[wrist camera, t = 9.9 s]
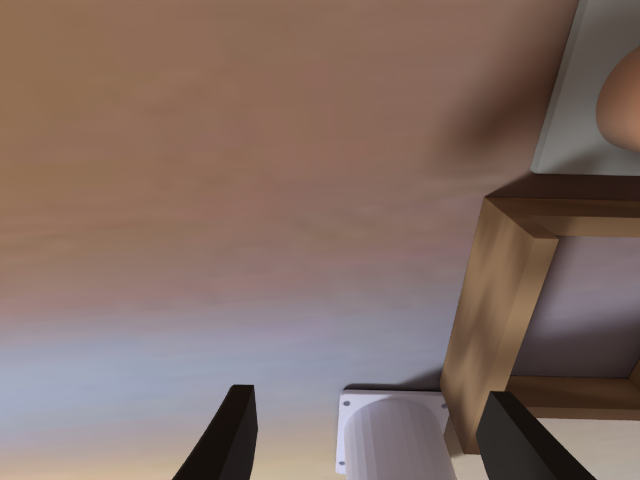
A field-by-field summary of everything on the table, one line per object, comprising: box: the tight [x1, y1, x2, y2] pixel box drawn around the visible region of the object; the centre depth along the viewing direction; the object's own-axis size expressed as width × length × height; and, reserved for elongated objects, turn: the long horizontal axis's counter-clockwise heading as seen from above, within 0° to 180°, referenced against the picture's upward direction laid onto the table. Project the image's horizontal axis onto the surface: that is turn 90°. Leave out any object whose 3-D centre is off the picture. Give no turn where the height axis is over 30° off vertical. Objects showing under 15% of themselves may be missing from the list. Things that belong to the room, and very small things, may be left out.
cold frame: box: [439, 197, 640, 455], centre depth 19 cm, size 14×14×5 cm
